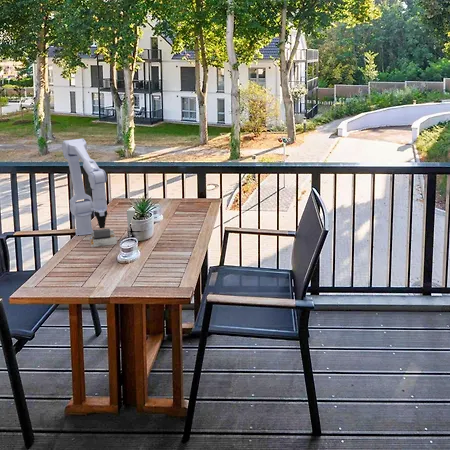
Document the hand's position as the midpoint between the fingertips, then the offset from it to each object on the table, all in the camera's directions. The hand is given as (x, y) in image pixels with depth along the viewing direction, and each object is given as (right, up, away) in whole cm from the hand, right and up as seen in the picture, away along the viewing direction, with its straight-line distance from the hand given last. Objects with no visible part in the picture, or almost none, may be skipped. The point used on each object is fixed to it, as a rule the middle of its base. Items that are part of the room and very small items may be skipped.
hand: (102, 227), depth 284 cm
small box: (+12, -1, +21) cm, 24 cm away
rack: (0, -6, +5) cm, 8 cm away
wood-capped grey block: (0, -6, +2) cm, 6 cm away
